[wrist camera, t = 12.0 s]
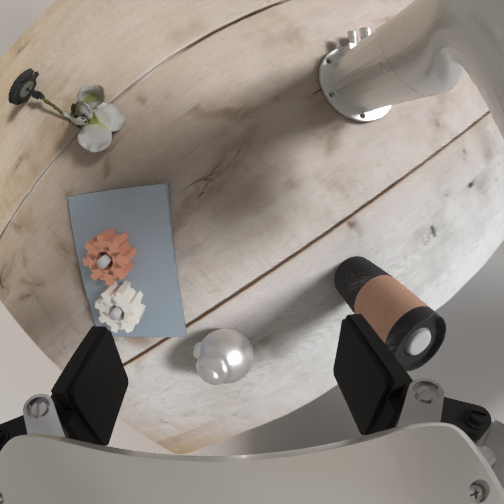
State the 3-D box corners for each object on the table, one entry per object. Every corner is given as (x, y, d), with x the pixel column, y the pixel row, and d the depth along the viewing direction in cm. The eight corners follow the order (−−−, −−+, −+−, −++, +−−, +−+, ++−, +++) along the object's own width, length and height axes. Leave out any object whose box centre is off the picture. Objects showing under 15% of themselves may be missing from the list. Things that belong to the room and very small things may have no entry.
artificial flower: (48, 66, 28) (31, 40, 19) (135, 124, 37) (131, 102, 28) (15, 107, 28) (-9, 88, 19) (100, 170, 36) (85, 160, 27)
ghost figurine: (211, 307, 43) (208, 345, 34) (261, 331, 45) (269, 371, 36) (186, 346, 45) (180, 386, 36) (234, 366, 47) (237, 407, 38)
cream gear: (96, 290, 39) (86, 301, 35) (129, 272, 38) (120, 283, 34) (120, 325, 41) (113, 339, 37) (153, 310, 41) (147, 324, 37)
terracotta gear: (90, 230, 36) (78, 237, 32) (132, 226, 36) (123, 233, 32) (99, 275, 38) (88, 285, 34) (140, 273, 38) (132, 284, 35)
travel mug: (339, 304, 45) (396, 382, 26) (326, 267, 43) (390, 340, 24) (377, 284, 45) (446, 349, 26) (367, 246, 42) (447, 303, 23)
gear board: (72, 195, 35) (50, 202, 29) (168, 182, 36) (156, 186, 30) (102, 331, 43) (89, 352, 37) (186, 331, 44) (182, 355, 38)
